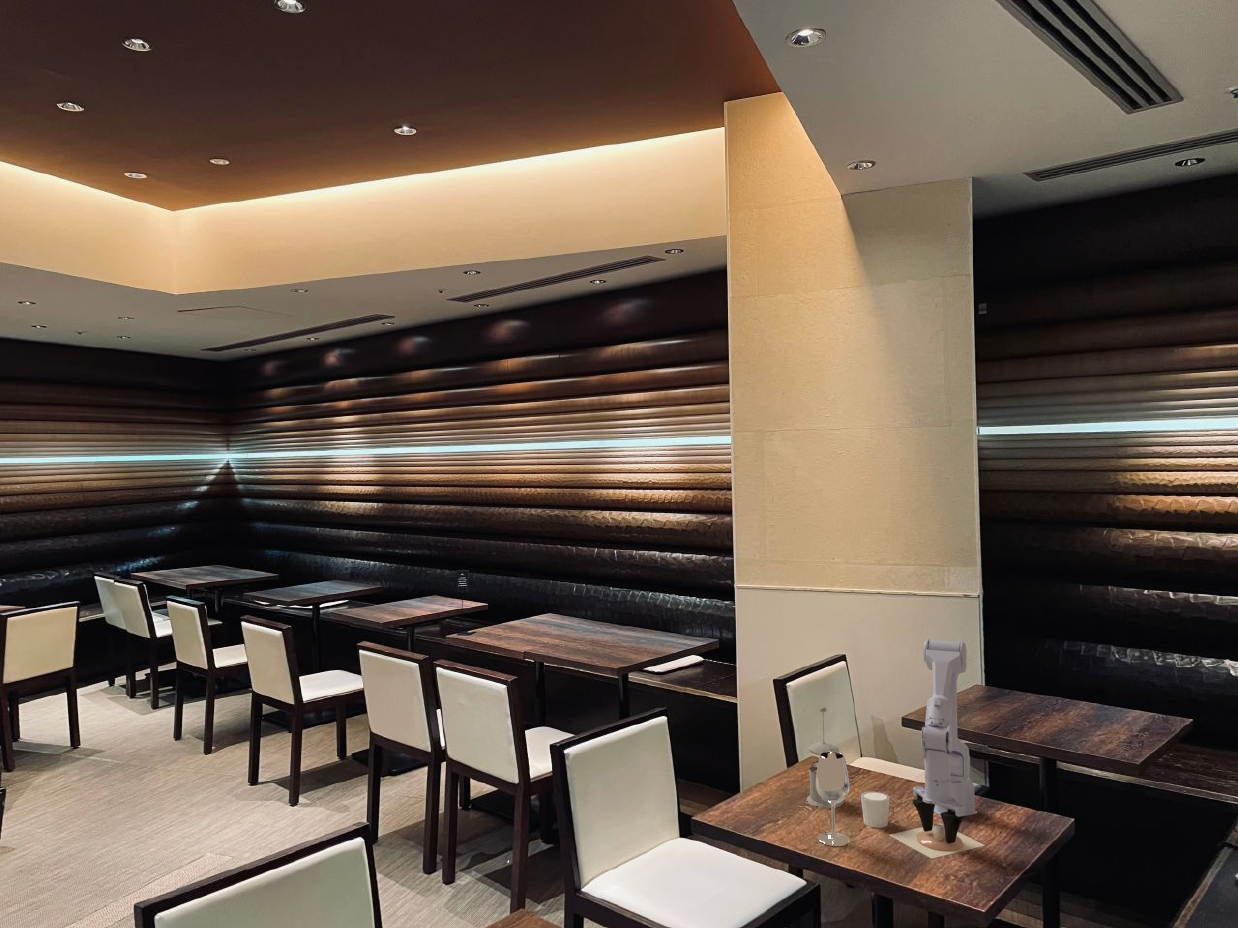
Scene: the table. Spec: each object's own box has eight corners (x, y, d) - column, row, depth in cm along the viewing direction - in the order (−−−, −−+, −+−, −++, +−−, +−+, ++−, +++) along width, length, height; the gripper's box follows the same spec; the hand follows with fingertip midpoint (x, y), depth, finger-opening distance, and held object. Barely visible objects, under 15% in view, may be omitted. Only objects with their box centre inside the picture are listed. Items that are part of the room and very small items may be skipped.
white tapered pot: (891, 830, 204) (891, 801, 204) (862, 828, 206) (861, 800, 206) (888, 819, 211) (888, 791, 211) (860, 817, 212) (859, 790, 213)
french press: (798, 797, 227) (796, 704, 227) (833, 790, 231) (831, 699, 232) (821, 810, 218) (819, 713, 218) (857, 802, 222) (855, 707, 223)
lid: (939, 829, 203) (939, 814, 204) (972, 846, 194) (971, 830, 194) (907, 837, 200) (907, 821, 200) (938, 854, 190) (938, 838, 190)
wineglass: (832, 849, 194) (830, 762, 195) (810, 837, 201) (808, 753, 202) (857, 842, 198) (856, 756, 198) (835, 830, 205) (833, 747, 205)
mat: (940, 824, 207) (940, 823, 207) (985, 846, 194) (985, 845, 194) (888, 836, 201) (888, 834, 201) (931, 860, 188) (931, 858, 188)
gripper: (902, 770, 202) (903, 827, 202) (947, 790, 189) (949, 851, 189) (925, 766, 205) (926, 822, 205) (971, 785, 192) (973, 845, 191)
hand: (939, 836), depth 197 cm, fingers open, 7 cm apart
